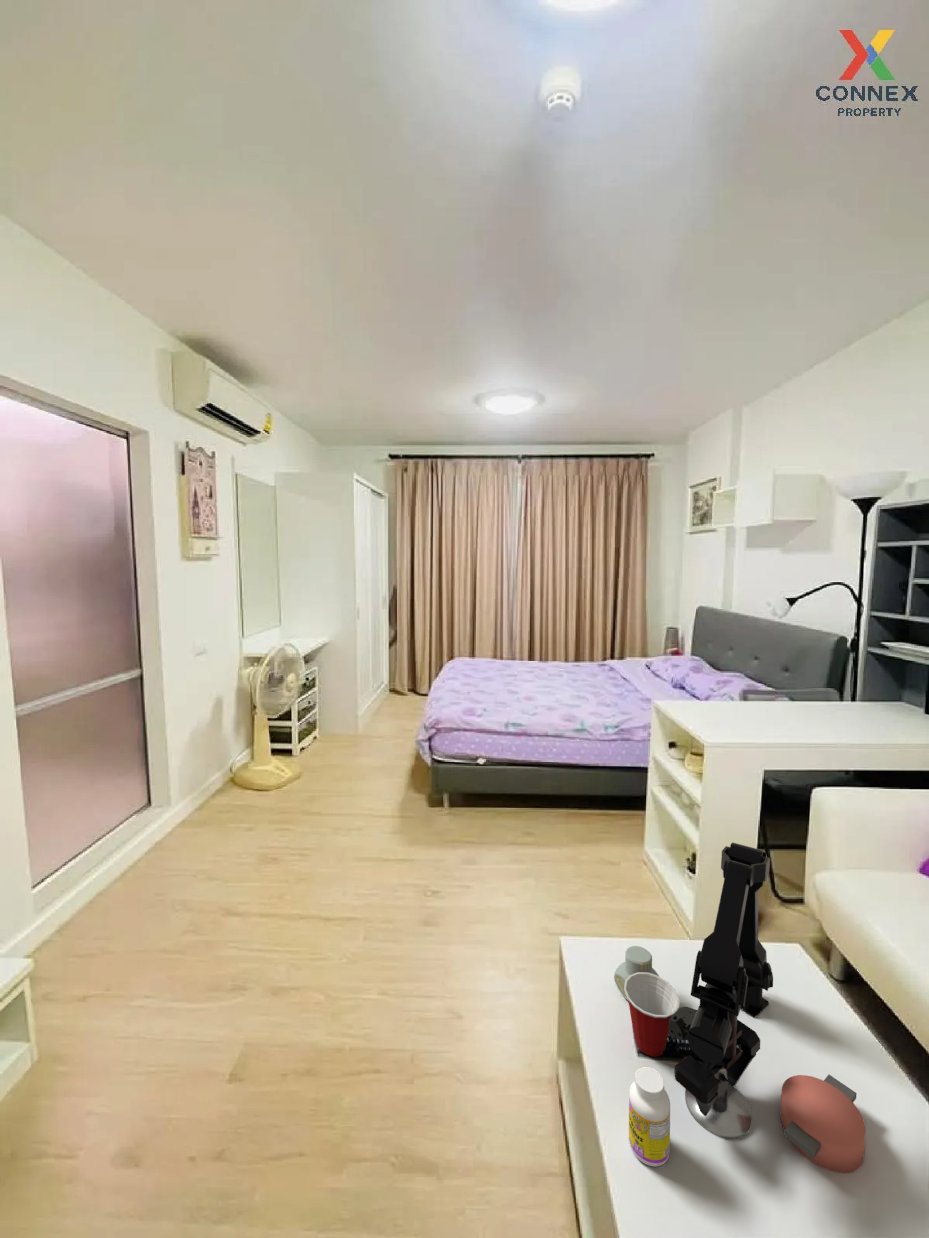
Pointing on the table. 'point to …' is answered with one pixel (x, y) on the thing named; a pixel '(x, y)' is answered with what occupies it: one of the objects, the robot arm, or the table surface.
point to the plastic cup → (650, 1010)
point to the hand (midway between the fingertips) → (717, 1098)
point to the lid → (723, 1111)
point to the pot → (823, 1122)
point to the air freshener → (633, 966)
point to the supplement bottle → (649, 1117)
